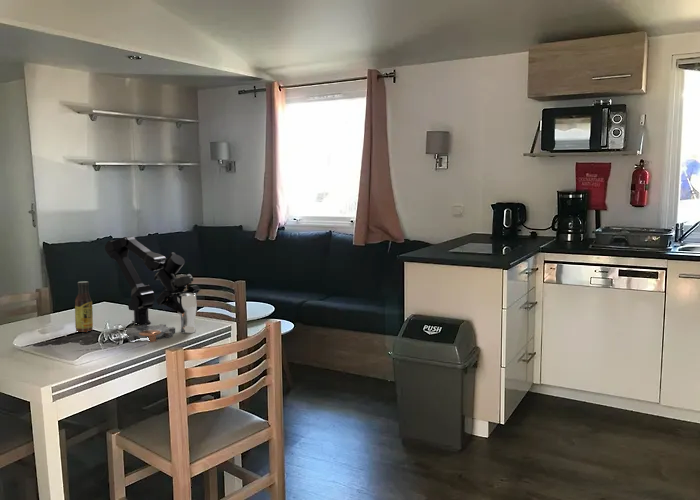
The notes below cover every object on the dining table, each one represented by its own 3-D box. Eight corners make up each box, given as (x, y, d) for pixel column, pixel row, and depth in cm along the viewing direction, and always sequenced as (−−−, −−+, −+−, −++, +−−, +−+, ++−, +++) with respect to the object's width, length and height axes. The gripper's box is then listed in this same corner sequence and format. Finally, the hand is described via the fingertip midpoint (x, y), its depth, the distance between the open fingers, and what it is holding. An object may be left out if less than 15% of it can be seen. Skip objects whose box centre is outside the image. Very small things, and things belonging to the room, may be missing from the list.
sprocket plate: (117, 332, 224) (116, 327, 224) (169, 326, 233) (169, 321, 233) (124, 345, 206) (123, 339, 206) (180, 338, 216) (180, 332, 216)
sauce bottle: (86, 334, 222) (83, 283, 219) (72, 333, 223) (69, 282, 221) (97, 329, 228) (94, 280, 226) (83, 329, 229) (80, 280, 227)
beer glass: (200, 330, 228) (199, 293, 227) (190, 334, 222) (189, 296, 220) (185, 328, 231) (184, 292, 229) (175, 332, 224) (174, 295, 222)
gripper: (160, 271, 217) (182, 302, 213) (196, 265, 233) (217, 294, 229) (147, 289, 222) (167, 320, 218) (183, 282, 238) (203, 311, 234)
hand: (190, 311), depth 225 cm, fingers closed on beer glass, 7 cm apart
